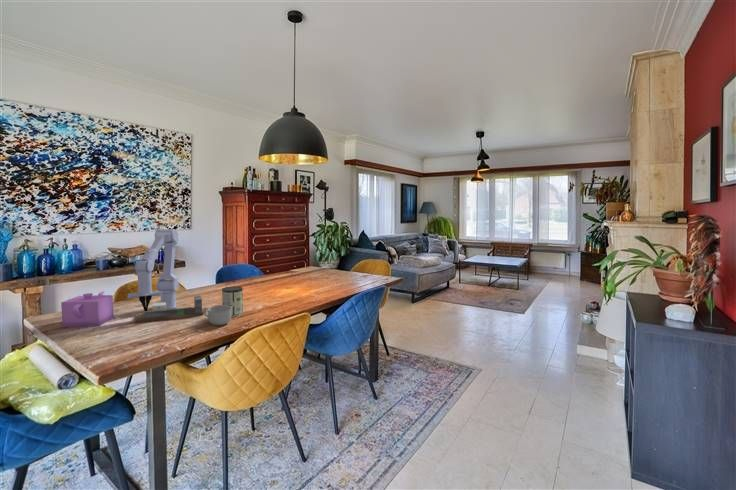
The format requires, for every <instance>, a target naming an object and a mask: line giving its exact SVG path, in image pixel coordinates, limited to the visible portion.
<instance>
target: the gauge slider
mask: <svg viewBox="0 0 736 490" xmlns="http://www.w3.org/2000/svg"><path fill="white" fill-rule="evenodd" d="M162 310H166V302H163V303H161V302H154V303H152V304H151V311H162Z"/></svg>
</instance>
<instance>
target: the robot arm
mask: <svg viewBox="0 0 736 490" xmlns="http://www.w3.org/2000/svg"><path fill="white" fill-rule="evenodd" d="M178 242H179V233H178V230H176V229H174V228H172V229H171V228H167V229H165V228H157V229H156V230H155V232H154V240H153V243H152V244H151V247H150V248H148V249H146V251H145V253H144V254H143V255H142V257H141V259H140V260H138V261H137V262H135V265H134V270H135V273H136V276H137V284H138V285H137V286H138V292H133V293H132V292H131V293H128V294H127V299H133V298H138V300H139V302H140V303H141V306H142V308H143V312H146V311H149V306H150V305H149V304H150V302H151V301H152V298H153V297H155V296H156V297H158V296H159V297H160V303H163V302H166V309H176V308H178V306H177V303H176V302H177V301H176V300H177V299H176V292H177V291H178V289H179V288H180V283H179V277H177V276H176V275H175V274H174V273H175V272H174V270H175V269H174V268H175V260H176V259H175V258H176V257H175V256H176V247H177V246H176V245H178ZM162 246H164V257H163V271H162V275H160V276H159V277H158V279H157V282H156V289H157V290H156V291H154V290H153V284H152V282H153V281H152V271H153V270H154V268H155V261H156V260H157V258H158V256H159V250H160V249H161V248H162Z"/></svg>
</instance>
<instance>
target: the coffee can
mask: <svg viewBox="0 0 736 490" xmlns="http://www.w3.org/2000/svg"><path fill="white" fill-rule="evenodd" d="M243 289H244V288H243V287H242V286H226V287H223V288H221V293H222V294H221V295H222V298H221V299H222V304H221V305H228V306H231V307H232V308H231V318H235V317H239V316H242V315H243V314H244V312H243V311H244V310H243V309H244V308H243V303H244V301H243Z"/></svg>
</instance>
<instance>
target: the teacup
mask: <svg viewBox="0 0 736 490" xmlns="http://www.w3.org/2000/svg"><path fill="white" fill-rule="evenodd" d="M231 308H232V307H231V306H228V305H222V304H219V305H212V306H210V307H209V306H208V307H204V309H202V310H203V316H205V317H206V318H207V319H208V322H209V323H210V324H211V325H213V326H218V327H219V326H225V325H226V324H228V323H230V321H231V319H232V317H231Z"/></svg>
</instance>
